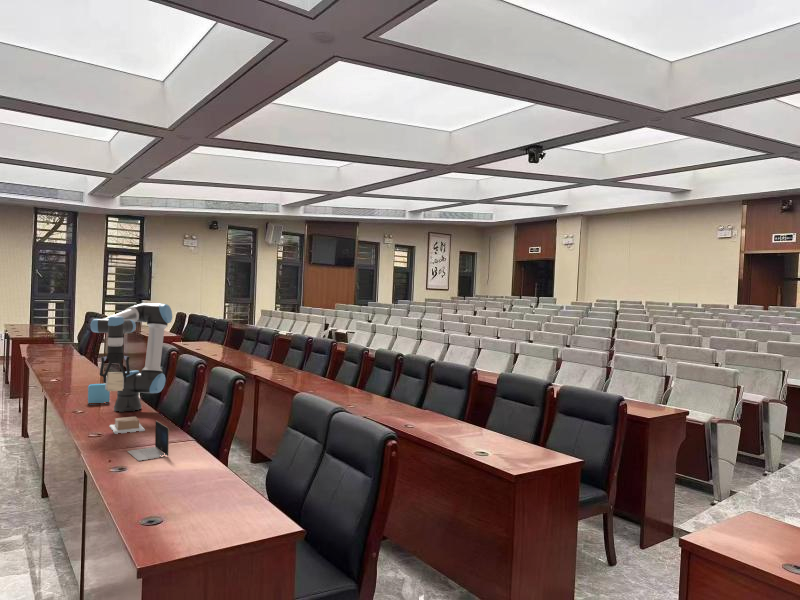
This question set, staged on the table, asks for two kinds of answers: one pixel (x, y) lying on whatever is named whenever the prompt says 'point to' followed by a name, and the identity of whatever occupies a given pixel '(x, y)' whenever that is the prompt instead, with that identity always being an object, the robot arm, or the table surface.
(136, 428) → the white tray
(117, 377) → the maple block
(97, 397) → the data package
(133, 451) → the laptop
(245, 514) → the table surface
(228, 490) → the table surface
